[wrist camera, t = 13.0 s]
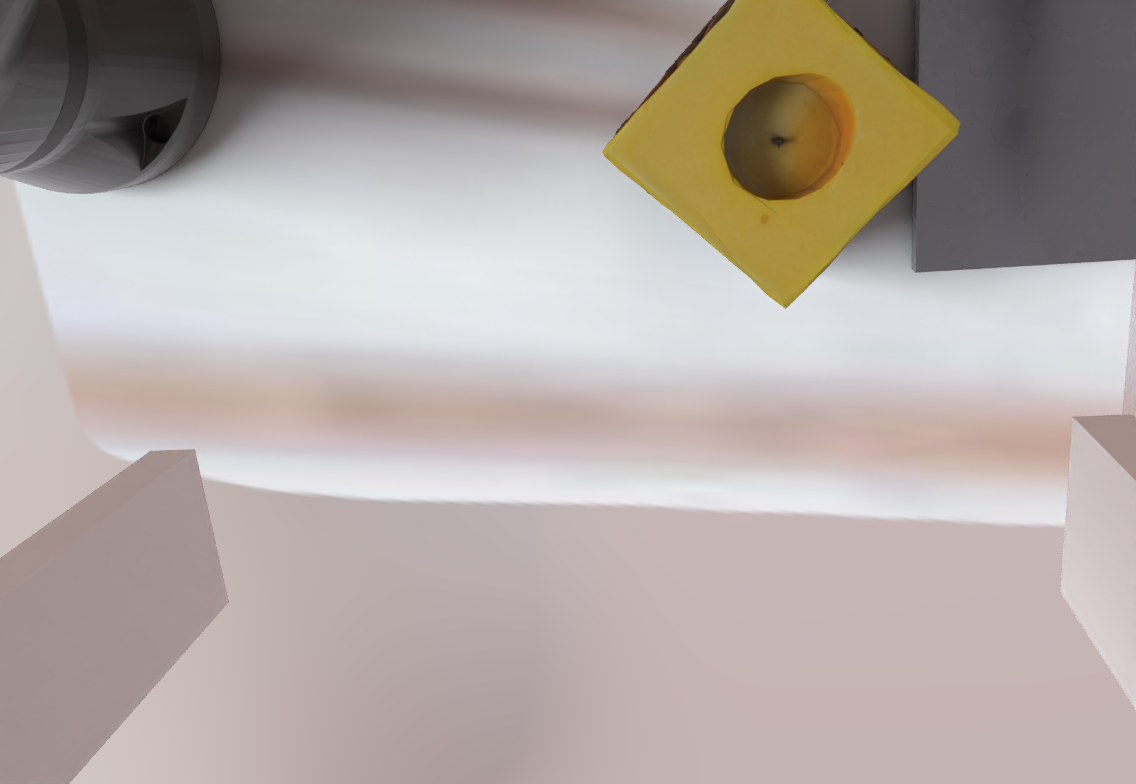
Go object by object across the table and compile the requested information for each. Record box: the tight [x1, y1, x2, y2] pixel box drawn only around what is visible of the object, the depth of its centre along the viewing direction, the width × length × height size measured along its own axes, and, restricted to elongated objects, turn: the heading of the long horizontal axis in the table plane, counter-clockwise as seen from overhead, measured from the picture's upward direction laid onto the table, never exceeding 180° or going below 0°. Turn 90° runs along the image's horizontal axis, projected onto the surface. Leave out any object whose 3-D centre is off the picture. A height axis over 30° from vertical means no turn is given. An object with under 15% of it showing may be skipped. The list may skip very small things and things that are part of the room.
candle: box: [603, 0, 960, 309], centre depth 43 cm, size 10×10×10 cm
